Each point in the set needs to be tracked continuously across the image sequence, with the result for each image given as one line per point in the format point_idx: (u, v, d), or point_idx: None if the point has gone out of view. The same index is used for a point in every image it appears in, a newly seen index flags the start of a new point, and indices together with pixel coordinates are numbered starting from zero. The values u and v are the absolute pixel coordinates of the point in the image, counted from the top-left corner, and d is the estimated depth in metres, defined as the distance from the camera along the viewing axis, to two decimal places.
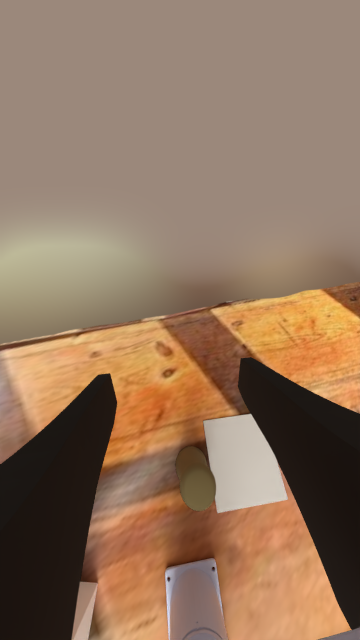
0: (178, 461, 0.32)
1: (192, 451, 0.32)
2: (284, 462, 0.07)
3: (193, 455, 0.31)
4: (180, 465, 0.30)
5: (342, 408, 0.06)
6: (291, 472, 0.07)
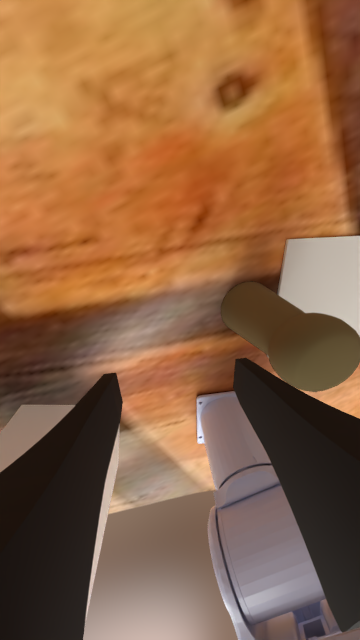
0: (234, 304, 0.18)
1: (265, 290, 0.17)
2: (277, 463, 0.07)
3: (274, 296, 0.15)
4: (246, 311, 0.16)
5: (334, 409, 0.06)
6: (284, 473, 0.07)
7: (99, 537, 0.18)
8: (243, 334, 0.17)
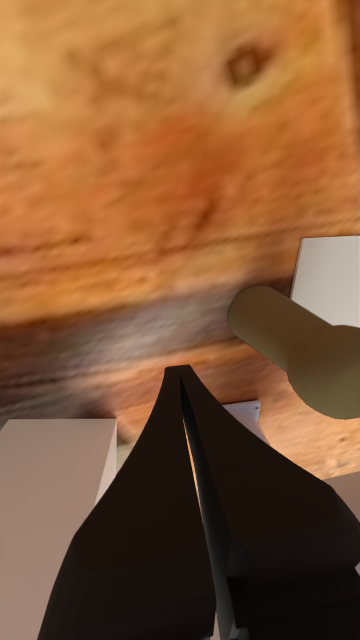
0: (243, 310, 0.16)
1: (278, 296, 0.15)
2: (197, 477, 0.07)
3: (290, 303, 0.13)
4: (258, 319, 0.14)
5: (237, 424, 0.05)
6: (199, 489, 0.06)
7: None
8: (254, 345, 0.15)
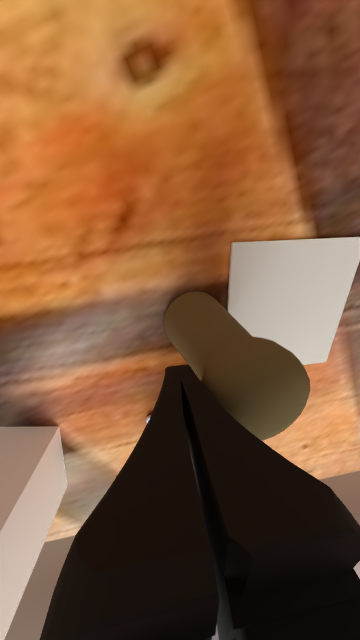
0: (174, 320, 0.14)
1: (207, 303, 0.14)
2: (196, 478, 0.07)
3: (216, 312, 0.13)
4: (184, 330, 0.13)
5: (236, 424, 0.05)
6: (198, 489, 0.06)
7: (14, 586, 0.16)
8: (184, 358, 0.14)
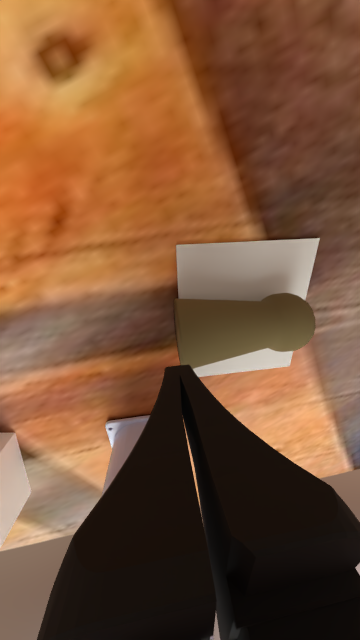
0: (211, 328, 0.12)
1: None
2: (197, 477, 0.07)
3: (228, 300, 0.15)
4: (237, 324, 0.13)
5: (237, 424, 0.05)
6: (199, 489, 0.06)
7: None
8: (237, 352, 0.14)
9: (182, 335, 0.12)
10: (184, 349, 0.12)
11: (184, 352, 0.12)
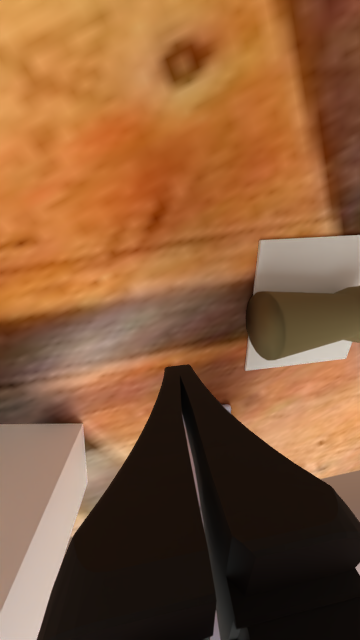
0: (309, 318, 0.13)
1: (295, 292, 0.15)
2: (197, 477, 0.07)
3: (311, 293, 0.15)
4: (331, 315, 0.14)
5: (237, 424, 0.05)
6: (199, 489, 0.06)
7: (47, 579, 0.16)
8: (326, 341, 0.14)
9: (285, 324, 0.13)
10: (287, 338, 0.13)
11: (286, 341, 0.13)
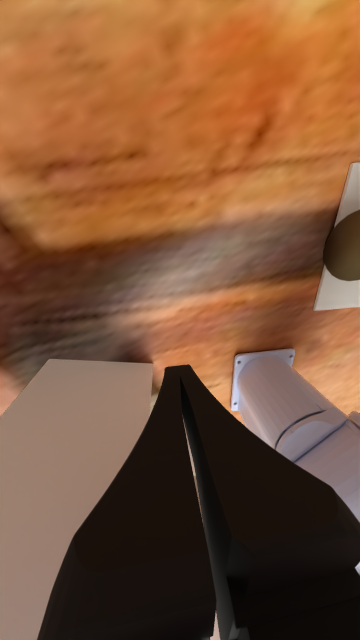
0: None
1: None
2: (197, 477, 0.07)
3: None
4: None
5: (237, 424, 0.05)
6: (199, 489, 0.06)
7: None
8: None
9: None
10: None
11: None
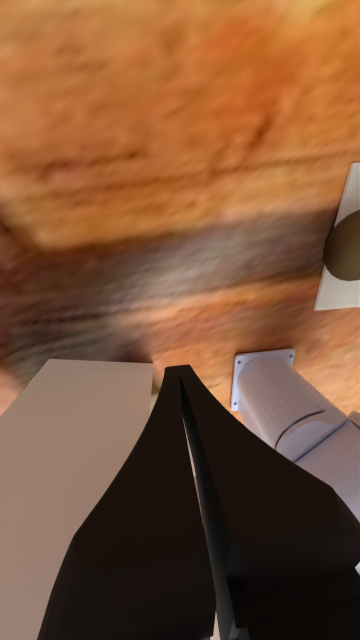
0: None
1: None
2: (197, 477, 0.07)
3: None
4: None
5: (237, 424, 0.05)
6: (199, 489, 0.06)
7: None
8: None
9: None
10: None
11: None
